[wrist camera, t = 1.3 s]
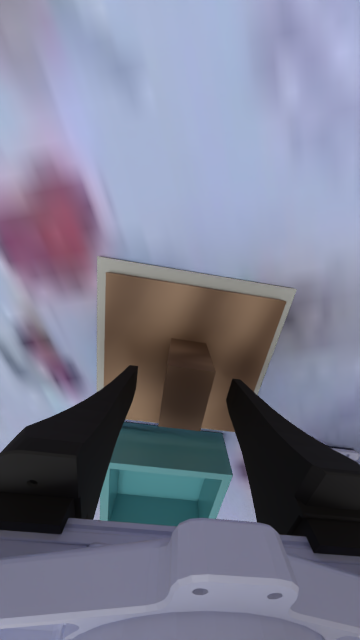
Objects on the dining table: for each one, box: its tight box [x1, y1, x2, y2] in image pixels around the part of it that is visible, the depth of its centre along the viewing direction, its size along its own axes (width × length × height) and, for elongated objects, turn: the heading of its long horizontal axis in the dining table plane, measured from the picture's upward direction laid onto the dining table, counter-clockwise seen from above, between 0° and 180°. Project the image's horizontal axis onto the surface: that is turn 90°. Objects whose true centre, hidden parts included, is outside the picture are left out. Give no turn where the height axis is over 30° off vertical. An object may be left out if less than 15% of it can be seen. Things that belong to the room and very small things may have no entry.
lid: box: [104, 272, 287, 432], centre depth 13 cm, size 14×14×5 cm
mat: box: [97, 256, 297, 432], centre depth 16 cm, size 16×16×1 cm
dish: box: [100, 422, 233, 526], centre depth 19 cm, size 12×12×4 cm
